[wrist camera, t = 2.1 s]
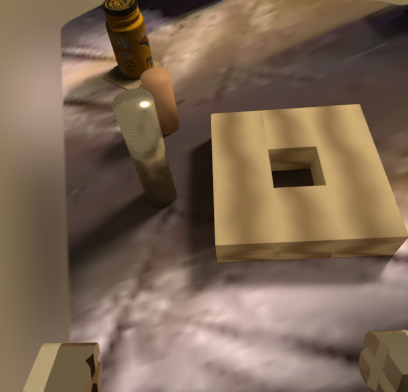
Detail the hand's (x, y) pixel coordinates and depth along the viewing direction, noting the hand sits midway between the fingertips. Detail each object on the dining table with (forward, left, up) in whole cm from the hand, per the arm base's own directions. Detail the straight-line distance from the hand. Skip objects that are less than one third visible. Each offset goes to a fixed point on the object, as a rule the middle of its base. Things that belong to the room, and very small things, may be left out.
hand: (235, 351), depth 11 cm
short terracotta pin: (-21, -33, -27) cm, 48 cm away
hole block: (-24, -11, -27) cm, 38 cm away
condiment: (-26, -47, -28) cm, 61 cm away
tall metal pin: (-12, -24, -27) cm, 38 cm away
